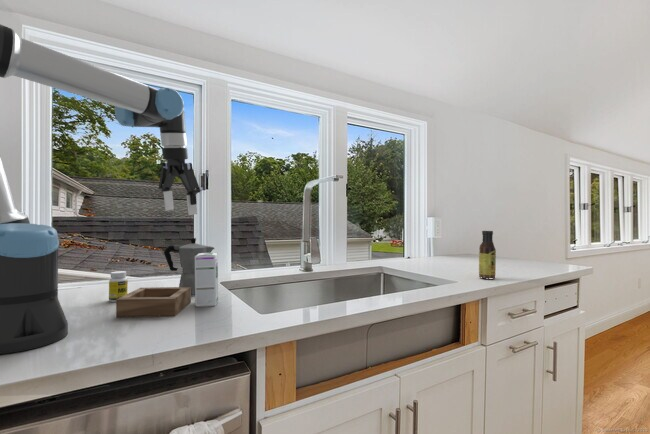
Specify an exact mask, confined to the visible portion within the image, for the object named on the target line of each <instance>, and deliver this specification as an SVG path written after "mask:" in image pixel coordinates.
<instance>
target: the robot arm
mask: <svg viewBox="0 0 650 434" xmlns="http://www.w3.org/2000/svg"><path fill="white" fill-rule="evenodd" d="M11 76H14V77H16V78H21V79H24V80H26V81H30V82H33V83H36V84H37V83H38V84H41V85H43V86H47V87H50V88H53V89H57V90H61V91H63V92H67V93H70V94H73V95H77V96H81V97H83V98H87V99H90V100H93V101H97V102H101V103H104V104H107V105H110V106H114V113H115V114H114V115H115V118H116V121H117V123H118V124H119V125H121V126H123V127H131V128H159V132H160V135H159V136H160V142H161V143H160V144H161V146H162V149H161V152H162V154H161V155H162V158H163V160H164V161H161V165H160V166H161V171H160V176H159V183H158V189H160V190H161V191H162V192H163V199H164V201H163V202H164V209H165V211H166V212H167V211H174V210H175V209H174V208H175V207H174V196H173V190H172V186H173V183H175V182H174V181H175V179H176V177H177V178H178V179H180V181H181V183H182V185H183V187H184V188H185V189H184V190H186V195H185V196H186V205H187V212H188V214H187V215H188V216H193V215H198V208H197V207H198V206H197V194H198V193H201V188H200V186H199V183H198V180H197V178H196V175H195V173H194V169H193V164H192V162H186V160H188V159H189V152H188V148H187V147H186V146H187V145H188V142H187V133H186V132H187V131H186V120H185V119H186V117H185V115H186V114H185V113H186V112H185V107H184V106H185V103H184V99H183V97H182V96H181V94H180V93H179V92H178V91H177V90H175V89H174V88H171V87H162V88H159V89H158V88H155V87H153V86H150V85H147V84H145V83H142V82H139V81H136V80H134V79H131V78H128V77H126V76H124V75H121V74H118V73H115V72H112V71H110V70H107V69H105V68H103V67H99V66H97V65H94V64H91V63H90V62H86V61H83V60H81V59H78V58H75V57H73V56H70V55H67V54H64V53H62V52H59V51H57V50H54V49H52V48H49V47H46V46H43V45H41V44H38V43H35V42H33V41H30V40H28V39H25V38H23V37H20V36H19V35H18V34H17V32H16V31H15V30H14V29H13V28H11V27H8V26H5V25H3V24H0V78H3V79H6V78H9V77H11ZM10 186H11V185H10V184H9V180H8V177H7V174H6V170H5V167H4V164H3V161H2V158H1V156H0V355H4V354H11V353H17V352H18V353H19V352H22V351H28V350H32V349H37V348H40V347H44V346H48V345H49V344H53V343H56V342H57V341H60V340H62V339H63V338H65V337H66V336H67V335H68V333H69V323H68V320H67V318H66V314H65V313H64V309H63V307H62V306H61V303H60V299H59V289H58V288H59V246H60V240H59V235H58V231H57V229H56V228H54V227H53V226H50V225H46V224H37V223H30V219H29V217H28V214H25V213H23V212H21V211H19V210H18V209H17V206H16V202H15V200H14V197H13V193H12V190H11V187H10Z"/></svg>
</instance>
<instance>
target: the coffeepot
mask: <svg viewBox="0 0 650 434" xmlns="http://www.w3.org/2000/svg"><path fill="white" fill-rule="evenodd" d="M190 241H191V243H189V244H188V243H187V244H185V245H168V246H167V247H166V248H165V249H164V251H163V253H164V256H165V259H166V263H167V264H168V265H167V266H168V267H169V270H170V271H173V272H177V271H178V269H179V267H174V261H173V260H172V255H171V252H175V253H176V252H178V256H179V262H180V267H181V268H182V273H181V275H180V279H179V283H178V287H191V296H195V256H196V255H198V253H212V251H213V250H215V247H213V246H210V245H205V244H204V245H203V244H199V243H196V241H197V238H196V237H191V238H190Z"/></svg>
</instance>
